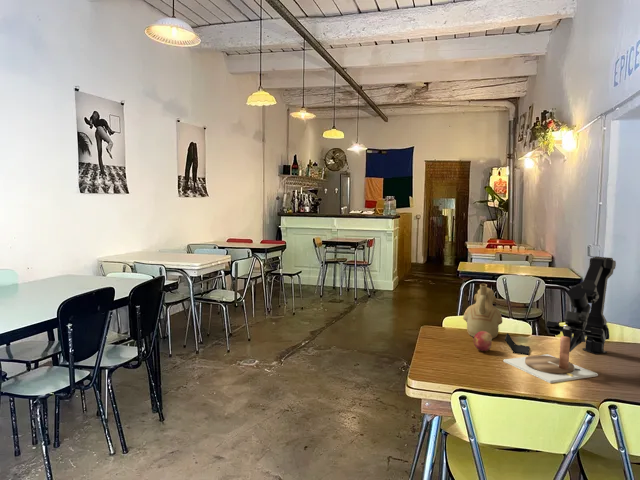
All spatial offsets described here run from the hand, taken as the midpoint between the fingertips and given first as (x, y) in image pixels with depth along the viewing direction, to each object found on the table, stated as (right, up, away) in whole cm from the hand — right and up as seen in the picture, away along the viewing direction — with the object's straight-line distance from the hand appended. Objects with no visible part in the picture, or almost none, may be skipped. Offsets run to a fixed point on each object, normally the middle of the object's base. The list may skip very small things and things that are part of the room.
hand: (569, 351), depth 162 cm
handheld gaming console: (-7, -7, +27) cm, 29 cm away
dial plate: (-4, -8, +6) cm, 11 cm away
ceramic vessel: (-14, -5, +48) cm, 50 cm away
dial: (-4, -7, +6) cm, 10 cm away
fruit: (-22, -6, +25) cm, 34 cm away
